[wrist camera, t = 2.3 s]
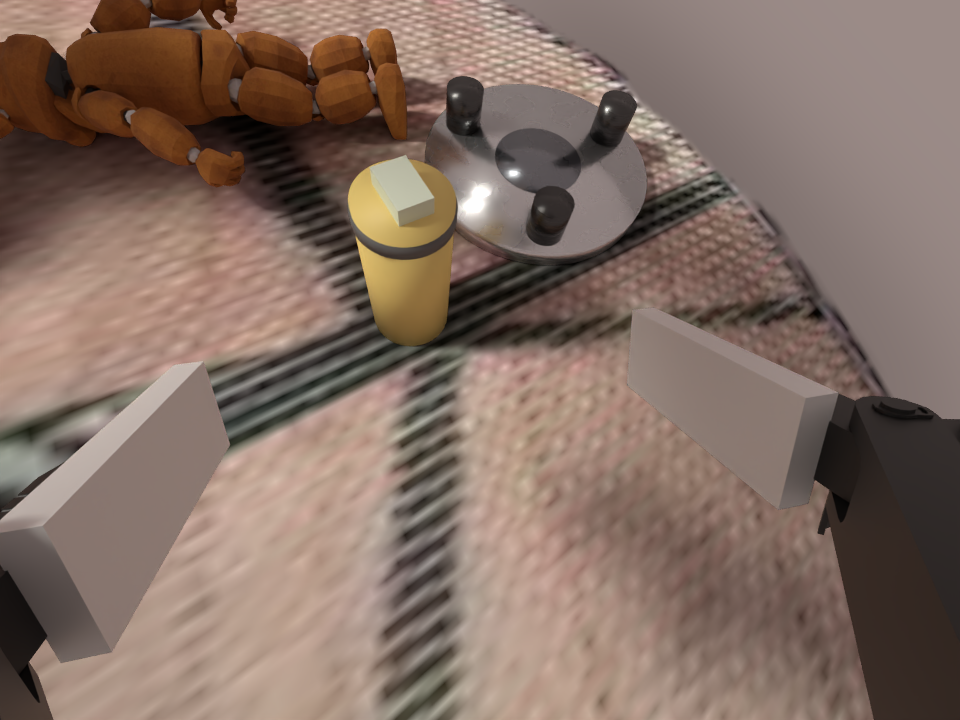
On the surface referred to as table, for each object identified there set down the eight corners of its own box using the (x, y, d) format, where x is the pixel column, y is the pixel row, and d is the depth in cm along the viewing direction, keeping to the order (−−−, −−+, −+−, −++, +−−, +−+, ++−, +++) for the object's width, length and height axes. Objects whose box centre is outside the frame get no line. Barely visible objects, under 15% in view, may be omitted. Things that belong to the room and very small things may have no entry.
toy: (384, 48, 44) (16, 46, 37) (380, -38, 38) (-63, -59, 31) (420, 207, 37) (-28, 240, 30) (423, 134, 30) (-144, 156, 24)
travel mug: (360, 299, 31) (322, 160, 20) (426, 270, 33) (425, 127, 22) (394, 360, 30) (373, 246, 19) (462, 327, 31) (480, 204, 20)
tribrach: (386, 134, 37) (381, 82, 33) (560, 79, 43) (574, 28, 38) (499, 301, 32) (509, 264, 28) (681, 215, 37) (713, 173, 33)
